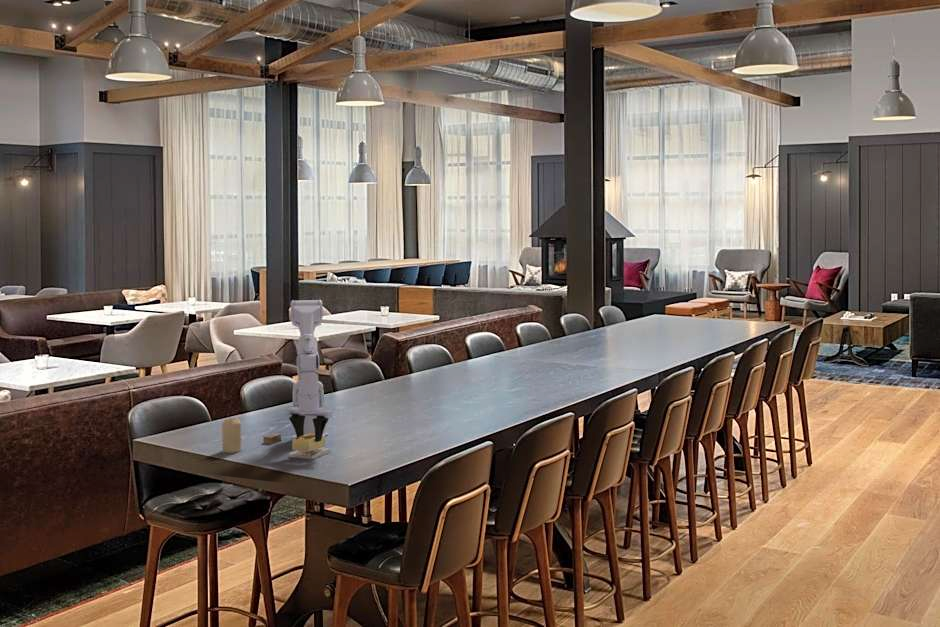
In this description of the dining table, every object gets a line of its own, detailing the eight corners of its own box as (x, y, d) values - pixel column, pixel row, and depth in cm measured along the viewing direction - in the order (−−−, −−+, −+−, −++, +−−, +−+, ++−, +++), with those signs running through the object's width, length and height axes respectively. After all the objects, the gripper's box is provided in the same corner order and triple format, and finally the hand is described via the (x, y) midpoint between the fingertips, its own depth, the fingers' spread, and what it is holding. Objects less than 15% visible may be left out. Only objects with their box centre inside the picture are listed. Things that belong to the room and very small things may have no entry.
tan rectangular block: (272, 439, 319) (272, 433, 318) (280, 440, 317) (280, 434, 317) (263, 443, 314) (263, 436, 314) (271, 443, 313) (271, 437, 313)
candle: (243, 448, 306) (242, 416, 305) (239, 452, 301) (238, 419, 300) (224, 448, 306) (223, 416, 305) (220, 453, 301) (220, 419, 300)
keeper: (307, 449, 305) (307, 434, 304) (330, 452, 302) (330, 437, 301) (288, 456, 296) (288, 441, 295) (312, 459, 292) (311, 444, 292)
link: (309, 443, 303) (309, 433, 303) (325, 445, 301) (325, 435, 301) (292, 449, 295) (292, 438, 295) (308, 451, 293) (308, 440, 293)
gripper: (279, 395, 296) (280, 440, 297) (322, 398, 290) (323, 445, 292) (293, 391, 303) (294, 436, 304) (335, 394, 297) (336, 440, 298)
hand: (309, 440), depth 298 cm, fingers closed on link, 6 cm apart
